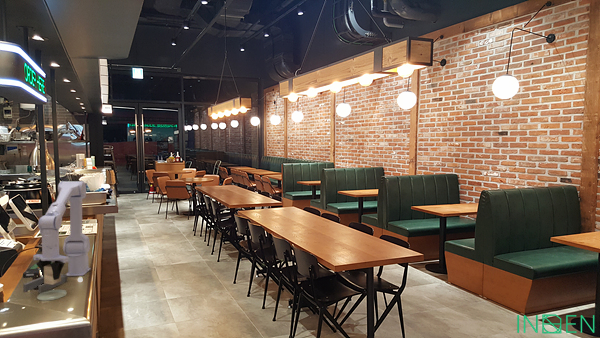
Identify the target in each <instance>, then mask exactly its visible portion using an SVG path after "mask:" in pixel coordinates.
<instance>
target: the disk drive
mask: <svg viewBox="0 0 600 338" xmlns="http://www.w3.org/2000/svg"><path fill="white" fill-rule="evenodd" d="M54 262H55V261H52V262H51V263H54ZM39 270H40V268H39V267H38V266H37V262H36V263H35V264H32V266H30V267H29V268H28V269H26V270H25V271H24V272H22V278H23V279H28V278H29V279H30V277H31V278H35V277H34V276H36V275H38V274H39Z"/></svg>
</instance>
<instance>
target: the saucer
mask: <svg viewBox="0 0 600 338" xmlns="http://www.w3.org/2000/svg"><path fill="white" fill-rule="evenodd" d="M67 294H68V293H67V290H66V289H59V288H58V289H50V290H48V291H45V292H43V293H38V294H37V296H36V299H37V300H38V301H43V302H45V301H46V302H47V301H48V302H49V301H55V300H58V299H61V298H64V297H65V296H66V295H67Z"/></svg>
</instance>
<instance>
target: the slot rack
mask: <svg viewBox="0 0 600 338" xmlns="http://www.w3.org/2000/svg"><path fill="white" fill-rule="evenodd" d="M67 282H68V276H67V275H66V274H62V273H61V281H60V282H58V283H55V284H53V285H52V284H42V283H44V277H37V278H36V279H33V280H30V281H28V282H25V283H23V286H22V287H23V292H25V293H27V292H29V291H31V290H34V289H36V288H38V291H37V292H38V294H41V293H43V292H46V291H50V290H53V289H54V288H56V287H58V286H61V285H62V284H65V283H67ZM41 284H42V285H41ZM37 286H38V287H37Z"/></svg>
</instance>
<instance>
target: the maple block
mask: <svg viewBox="0 0 600 338" xmlns="http://www.w3.org/2000/svg"><path fill="white" fill-rule="evenodd" d="M61 274H62V272H61V273H60V277H59V279H57V280H54V279H53V271H52V268H51V266H50V264H49V265H46V266H44V284H52V285H53V284H55V283H58V282H60V281H61Z"/></svg>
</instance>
